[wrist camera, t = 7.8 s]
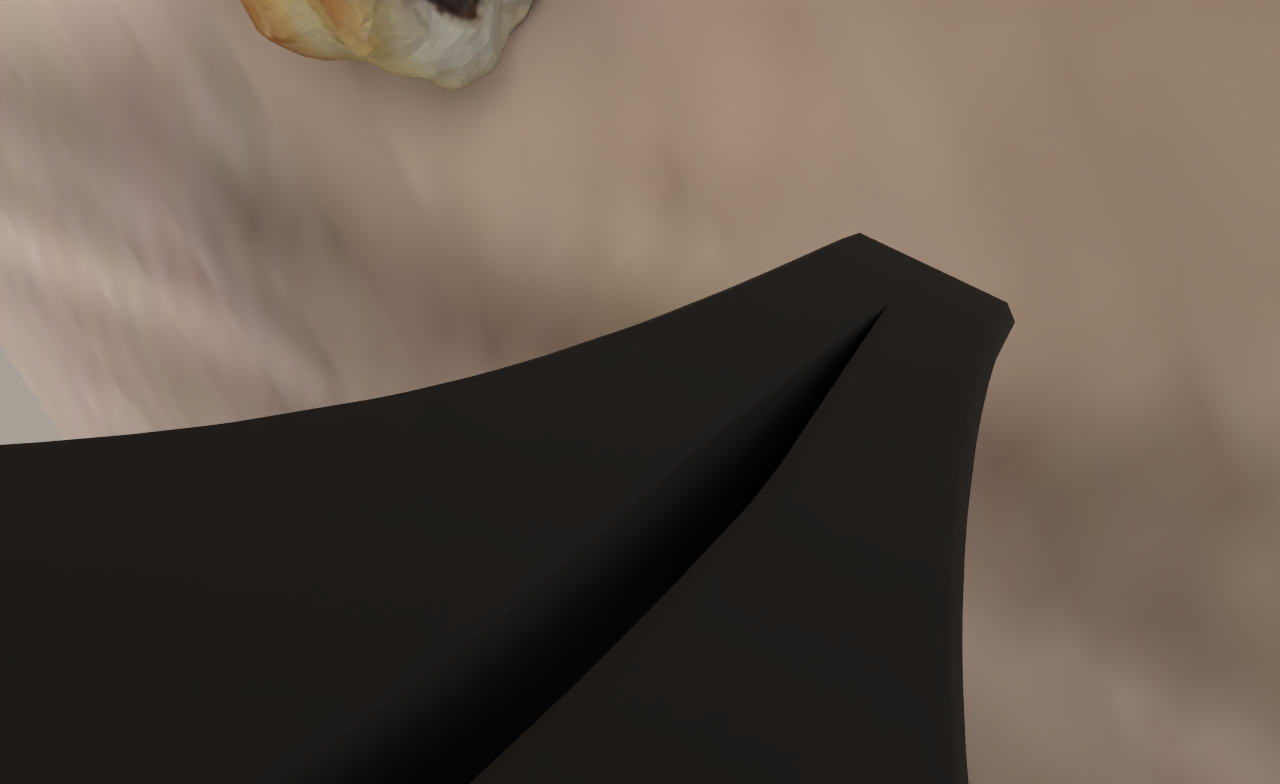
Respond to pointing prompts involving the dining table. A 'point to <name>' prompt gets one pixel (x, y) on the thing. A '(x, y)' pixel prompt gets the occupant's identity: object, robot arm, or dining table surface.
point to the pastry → (396, 33)
